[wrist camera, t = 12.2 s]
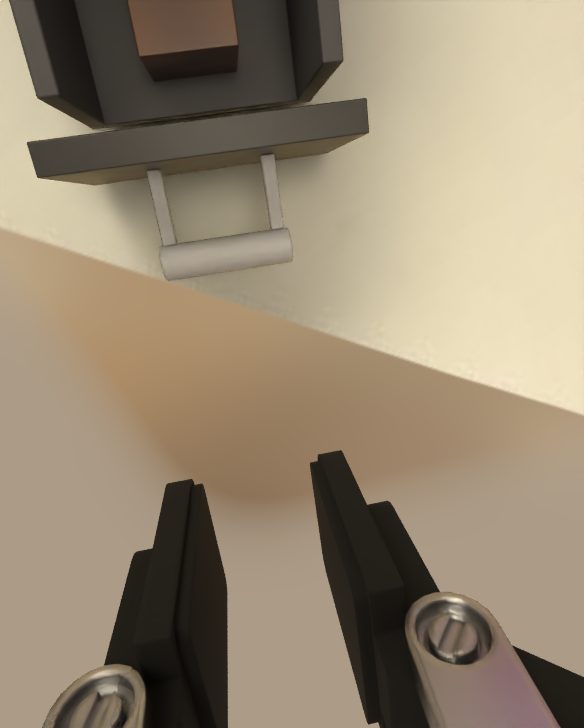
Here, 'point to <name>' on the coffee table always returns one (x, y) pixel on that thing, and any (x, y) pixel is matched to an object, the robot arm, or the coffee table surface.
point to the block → (185, 37)
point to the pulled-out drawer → (188, 110)
